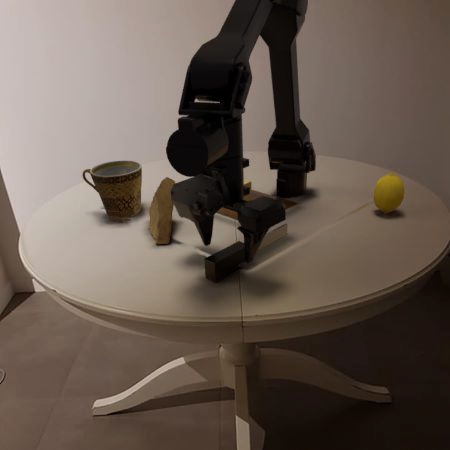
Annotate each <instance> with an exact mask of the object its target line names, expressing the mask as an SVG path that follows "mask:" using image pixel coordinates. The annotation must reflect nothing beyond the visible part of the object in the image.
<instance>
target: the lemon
mask: <svg viewBox="0 0 450 450" xmlns="http://www.w3.org/2000/svg"><path fill="white" fill-rule="evenodd" d="M373 189H374V190H373V195H372V196H373V198H372V199H373V203H374V205H375V207H376V208H377V209H378V210H379V211H382V212H383V213H384V214H385V215H386V214H389V213H390V212H392V211H395V210H396V209H398V208H399V207H400V206H401V204H402V203H403V200H404V197H405V185H404V182H403V180H402V178H401V177H399V176H398V175H396V174H394V172H390V173H389V174H385V175H383V176H382V177H380V178H379V179H378V181H377V182H376V184H375V186H374V188H373Z"/></svg>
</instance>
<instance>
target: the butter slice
mask: <svg viewBox="0 0 450 450" xmlns="http://www.w3.org/2000/svg"><path fill="white" fill-rule="evenodd" d="M244 186H247V187H250V194H248V195H246V196H244V199H243V200H246V201H250V200H252V190H253V189H252V180H249V179H244Z"/></svg>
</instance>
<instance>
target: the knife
mask: <svg viewBox="0 0 450 450" xmlns="http://www.w3.org/2000/svg"><path fill="white" fill-rule="evenodd" d="M288 228H289V224H288V223H284V224H281V225H280V226H278V227H275V228H274V229H272V230H270V231H268V232H267V233H266V235H265V237H264V238H263V240H262V242H261V245H260V247H259V249H258V251H260V250H262V249H264V248H266V247H267V246H270V245H272V244H273V243H275V242H276V241H278V240H280V239H282V238H284V237H285V236H287V235H288V233H289V232H288ZM203 263H204V264H203V265H204V276H205V279H206V280H209V281H211V282H212V283H214V284H217V283H218V282H221V281H222V280H224V279H226V278H228V277H229V276H231V275H233V274H235V273H236V272H239V271H240V270H242V269H243V267H242V266H240V265H242V264H244V263H246V259H245V251H244V241H240V240H238V241H236V242H234V243H232V244H230V245H228V246H226V247H224V248H222V249H219V251H217V252H214V253H212V254H210V255H208V256H206V257H205V258H203Z"/></svg>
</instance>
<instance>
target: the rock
mask: <svg viewBox="0 0 450 450" xmlns="http://www.w3.org/2000/svg"><path fill="white" fill-rule="evenodd" d="M175 183H176V181H175V180H173V179H172V178H170V177H168V176H166V177H164V178H163V179H162V180H161V181H160V183H159V185H158V186H157V187H156V191H155V192H154V194H153V196H152V201H151V203H150V206H149V209H148V215H149V222H148V223H149V224H148V228H147V230H149V233H150V234H151V235H152V237H153V238H154V239H155V243H156V244H157V245H168V244H170V240H171V233H172V223H173V211H174V204H173V203H172V200H171V189H172V187H173V185H174V184H175Z"/></svg>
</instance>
